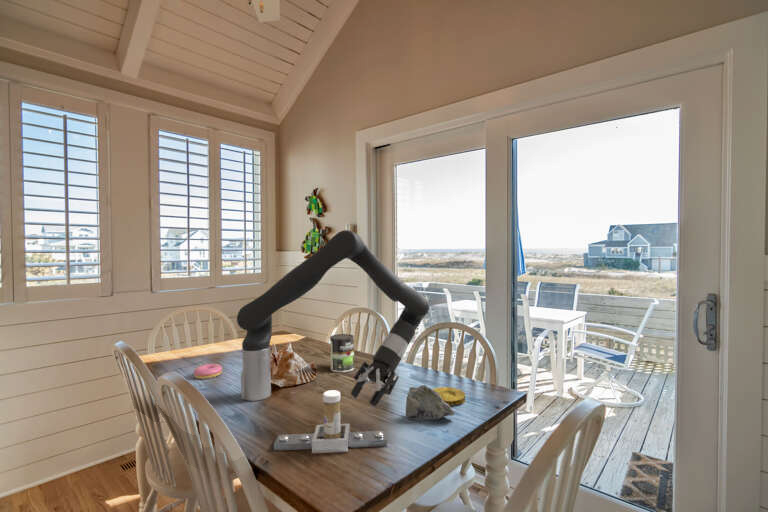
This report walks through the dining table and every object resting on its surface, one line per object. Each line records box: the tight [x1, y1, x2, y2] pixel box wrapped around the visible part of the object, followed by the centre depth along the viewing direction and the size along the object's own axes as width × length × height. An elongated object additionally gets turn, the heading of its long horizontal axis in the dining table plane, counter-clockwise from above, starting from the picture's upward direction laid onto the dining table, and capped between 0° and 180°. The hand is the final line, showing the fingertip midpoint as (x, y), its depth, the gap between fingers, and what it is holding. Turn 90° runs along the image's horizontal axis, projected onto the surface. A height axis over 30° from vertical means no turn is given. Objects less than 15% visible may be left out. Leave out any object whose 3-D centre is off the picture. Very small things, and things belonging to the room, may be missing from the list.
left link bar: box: [273, 432, 315, 452], centre depth 98 cm, size 10×5×2 cm, turn 92°
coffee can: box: [329, 333, 355, 373], centre depth 161 cm, size 10×10×14 cm
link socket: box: [311, 423, 351, 454], centre depth 98 cm, size 9×9×3 cm
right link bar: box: [348, 430, 388, 448], centre depth 99 cm, size 10×5×2 cm, turn 92°
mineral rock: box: [405, 384, 456, 421], centre depth 111 cm, size 13×11×10 cm
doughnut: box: [193, 363, 223, 380], centre depth 156 cm, size 11×11×4 cm
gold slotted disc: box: [432, 386, 466, 406], centre depth 126 cm, size 12×12×2 cm
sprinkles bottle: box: [322, 389, 342, 439], centre depth 98 cm, size 5×5×14 cm
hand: (362, 400), depth 105 cm, fingers open, 8 cm apart
